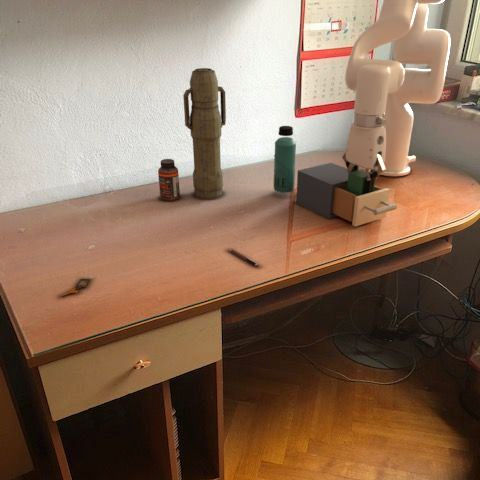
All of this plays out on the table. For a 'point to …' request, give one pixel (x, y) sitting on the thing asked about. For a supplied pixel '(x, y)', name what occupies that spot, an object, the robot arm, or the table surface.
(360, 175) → the block
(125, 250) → the table surface
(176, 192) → the supplement bottle
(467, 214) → the table surface
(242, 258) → the pen
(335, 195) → the drawer
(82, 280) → the key tag
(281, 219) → the table surface
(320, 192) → the cabinet
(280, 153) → the beverage bottle
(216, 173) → the thermos
